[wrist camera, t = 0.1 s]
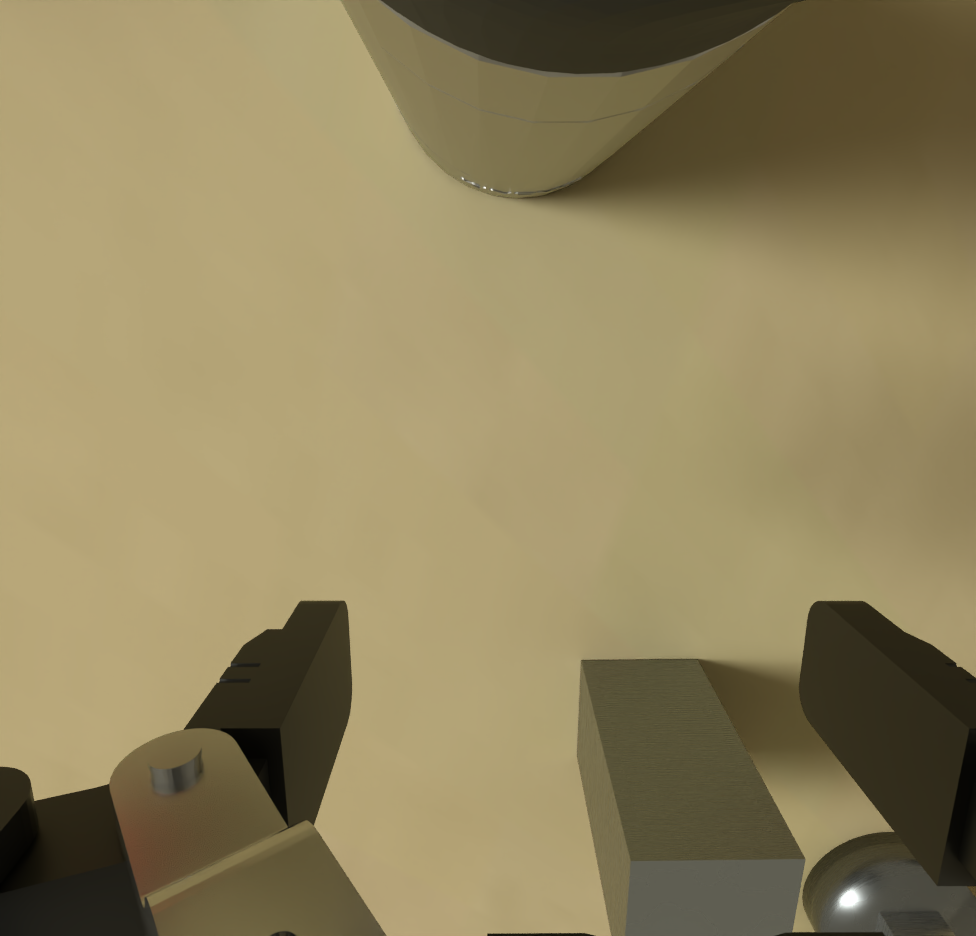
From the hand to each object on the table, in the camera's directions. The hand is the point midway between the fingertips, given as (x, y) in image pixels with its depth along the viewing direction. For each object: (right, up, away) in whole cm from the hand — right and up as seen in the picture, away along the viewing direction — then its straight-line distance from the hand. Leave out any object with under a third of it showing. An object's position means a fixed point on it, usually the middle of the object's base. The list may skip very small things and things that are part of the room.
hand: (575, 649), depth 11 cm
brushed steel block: (+6, -9, +21) cm, 23 cm away
